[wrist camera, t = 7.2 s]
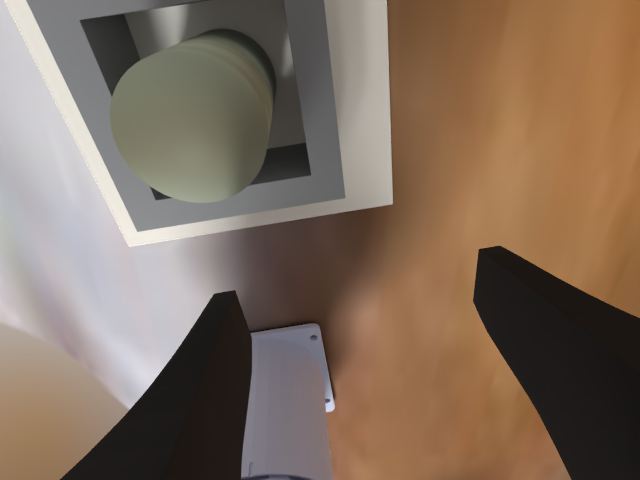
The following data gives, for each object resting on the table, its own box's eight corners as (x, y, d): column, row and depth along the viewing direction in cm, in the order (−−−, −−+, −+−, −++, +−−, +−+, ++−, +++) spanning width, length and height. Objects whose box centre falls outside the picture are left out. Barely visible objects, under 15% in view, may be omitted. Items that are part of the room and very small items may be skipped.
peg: (283, 124, 17) (279, 193, 11) (195, 136, 17) (144, 211, 11) (266, 21, 15) (249, 39, 9) (165, 35, 15) (81, 63, 9)
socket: (390, 198, 20) (414, 244, 17) (132, 240, 20) (99, 295, 17) (377, -175, 12) (417, -244, 9) (-40, -107, 12) (-172, -149, 9)
